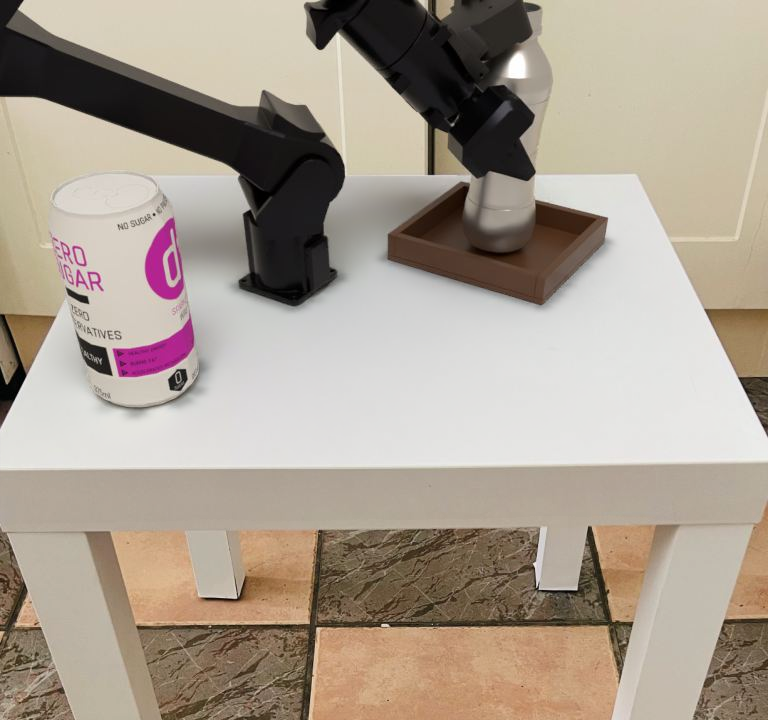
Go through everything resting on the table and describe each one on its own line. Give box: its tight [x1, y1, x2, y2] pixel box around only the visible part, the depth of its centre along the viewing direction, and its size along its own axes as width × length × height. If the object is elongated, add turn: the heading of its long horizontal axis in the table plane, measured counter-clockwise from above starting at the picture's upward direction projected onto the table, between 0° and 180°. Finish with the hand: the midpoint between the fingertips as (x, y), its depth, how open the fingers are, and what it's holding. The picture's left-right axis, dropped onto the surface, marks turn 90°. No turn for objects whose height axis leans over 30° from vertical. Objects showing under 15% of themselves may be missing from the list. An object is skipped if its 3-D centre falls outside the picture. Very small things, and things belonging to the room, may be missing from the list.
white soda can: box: [46, 169, 200, 408], centre depth 66 cm, size 8×8×15 cm
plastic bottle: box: [462, 1, 554, 252], centre depth 79 cm, size 6×7×20 cm
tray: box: [387, 180, 609, 306], centre depth 85 cm, size 16×14×2 cm
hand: (518, 163), depth 81 cm, fingers closed on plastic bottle, 5 cm apart
